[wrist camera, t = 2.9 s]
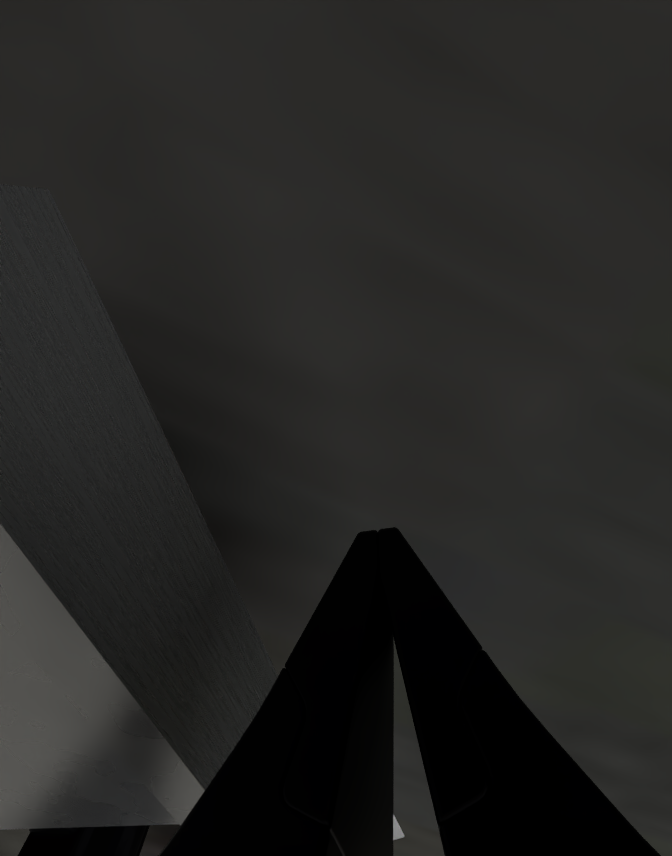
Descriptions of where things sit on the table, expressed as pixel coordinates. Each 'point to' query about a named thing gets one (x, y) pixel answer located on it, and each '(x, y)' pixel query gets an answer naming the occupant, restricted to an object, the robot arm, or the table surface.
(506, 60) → the table surface
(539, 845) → the robot arm
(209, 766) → the lid
